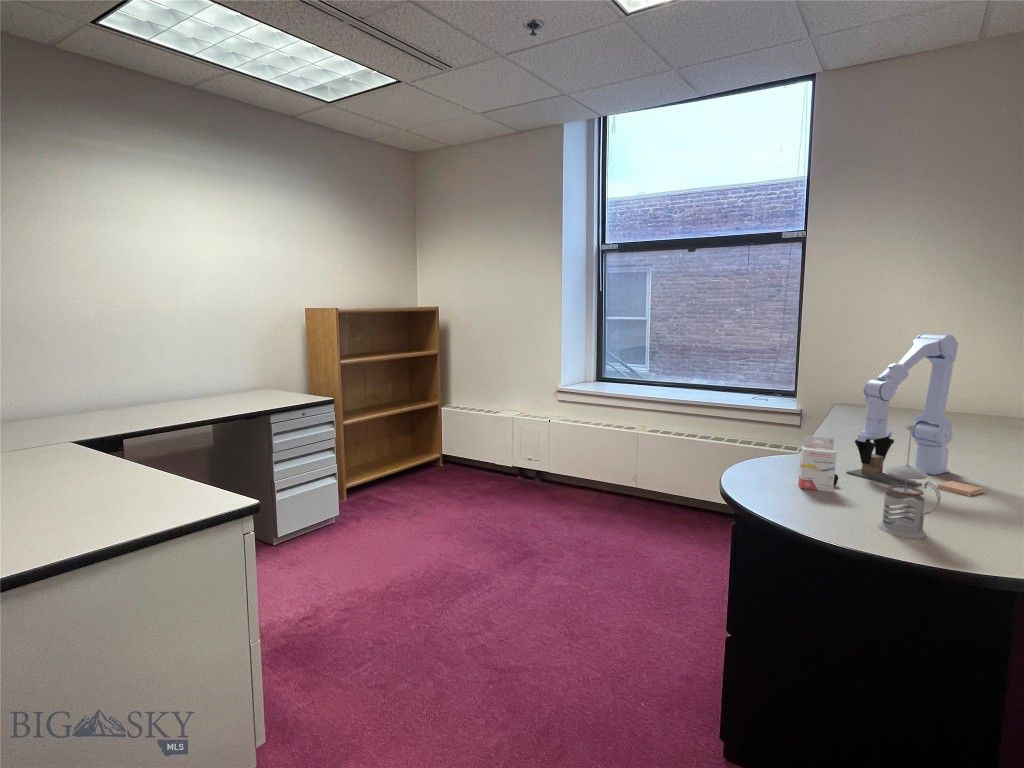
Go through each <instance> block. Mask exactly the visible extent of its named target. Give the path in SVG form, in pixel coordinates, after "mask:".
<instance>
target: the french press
mask: <svg viewBox="0 0 1024 768" xmlns="http://www.w3.org/2000/svg"><path fill="white" fill-rule="evenodd" d="M905 429H906V430H907V431H910V433H909V441H908V454H907V462H906V464H905V465H902V464H899V465H896V466H892V467H891V466H890V467H889V468H886V469H885V470H886V471H885V472H886V474H890V475H893V476H896V477H901V478H906V481H905V486H904V485H903V486H902V485H900V486H899V485H890V484H889V485H888V486H886V489H887V490H888V491H885V493H884V500H883V512H882V521H880V522H879V523H877V524H876V527H877V528H878V529H879V530H881V531H882V532H884V533H887V534H891V535H895V536H898V537H902V538H903V537H904V538H912V539H913V538H915V539H916V538H917V539H918V538H920V539H921V538H924V537H927V532H926V531H925V530H924V522H925V521H924V519H925V515H930V514H932V513H934V512H935V511H936V510H937V509H938V508H939V506H940V503H941V498H942V497H941V496H942V495H941V493H940V491H939V490H940V489H938V488H937V486H936V485H935V484H933V483H931V482H930V481H927V482H925V483H924V484H923V488H924V489H927V488H928V486H929V487H931V488H932V489H933V490H934V491H935V494H936V497H937V501H936V505H935V507H934V508H933V509H932V510H928V511H925V512H924V509H925V497H923V495H924V494H925V492H924V490H922V489H919V488H917V487H909V486H908V487H907V486H906V482H907V479H911V480H924V479H927V478H928V476H929V474H928V473H925V472H923V471H921V470H920V469H918V468H916V467H914V466H910V465H909V462H910V461H909V459H910V450H911V441H912V440H911V439H912V434H911V432H912V430H916V426H914V424H908V425H906V428H905ZM907 498H908V500H905V499H907ZM910 499H915V500H916V501H915V500H910ZM901 505H902V506H901ZM892 506H899V507H892ZM896 511H899V512H896ZM899 516H900V517H899Z"/></svg>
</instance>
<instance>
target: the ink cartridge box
mask: <svg viewBox="0 0 1024 768" xmlns="http://www.w3.org/2000/svg"><path fill="white" fill-rule="evenodd" d="M814 441H819V442H814ZM821 442H822V443H821ZM834 442H835V439H834V438H833V437H824V436H823V437H821V436H810V435H809V436H807V435H804V436H803V437H802V445H801V448H800V449H801V450H800V451H801V452H800V463H799V472H798V473H799V474H798V482H797V483H798V487H799V488H800V489H801V488H804V489H803V490H809V489H811V490H810V491H818V490H819V491H821V492H828V493H833V492H834V486H835V485H834V476H835V474H836V463H837V451H836V450H835V449H834V444H835V443H834Z"/></svg>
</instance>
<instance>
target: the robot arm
mask: <svg viewBox="0 0 1024 768" xmlns="http://www.w3.org/2000/svg"><path fill="white" fill-rule="evenodd" d="M958 347H959V342H958V340H957V339H956V337H955V336H954V335H952V334H929V333H920V334H918V335H917V336H916V337H915V338H914V339H913V340H912V347H911V348H910V349H909V350H908V351H907V352H906V354H904V356H903V357H902V358H901V360H899V361H898V363H897V362H896V363H894V362H893V363H891V364H889V365H887V367H886V369H884V370H883V371H882V372H881V373H880V374H879V375H878V376H877V377H876V378H875V379H870V380H869V381H868V382H867V381H866V384H865V385H864V388H863V389H862V390H863V394H864V396H865V400H864V401H865V403H866V410H865V411H866V413H865V421H864V423H865V424H864V430H861V431H860V434H857V438H856V439H855V440H854V443H855V446H856V447H857V449H858V452H859V457H860V463H861V464H862V463H864V464H869V463H870V461H871V456H872V454H873V451H874V452H875V455H879V456H884V460H883V463H884V461H885V459H886V457H887V454H888V451H889V450H890V448H891V447H892V445H893V444H894V443H895V439H894V438H892V435H893V431H889V430H888V419H889V407H890V406H889V405H890V400H892V399H893V398H894V397H895V395H896V391H897V390H898V386H900V385H901V384H902V383H903V382H904V381H905V380H906V379H907V378H908V377H909V371H910V370H911V369H912V368H913V367H914V366H915V365H917V364H918V363H919V362H920V361H921V360H923V359H924V358H925V359H926V360H928V361H929V362H930V363H931V364H932V367H931V372H930V377H929V383H928V389H927V393H926V399H925V405H924V411H923V413H921V414H919V415H917V416H916V417H915V419H914V423H913V425H914V426H916V430H912V432H911V438H913V439H914V442H915V443H916V447H915V458H914V466H913V467H916V468H918V469H920V470H921V471H923V472H925V473H926V474H928V475H934V476H935V475H940V474H945V473H950V471H951V470H950V469H948V461H949V448H948V447H947V445H948V444H949V443H950V442H951V440H952V439H953V430H952V429H953V422H952V421H951V420H950V419H949V418H948V417H946V415H945V413H946V409H947V407H946V406H947V402H948V396H949V391H950V386H951V380H952V375H953V369H954V363H955V362H956V359H957V354H958V353H957V352H958ZM872 441H873V442H872Z"/></svg>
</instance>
